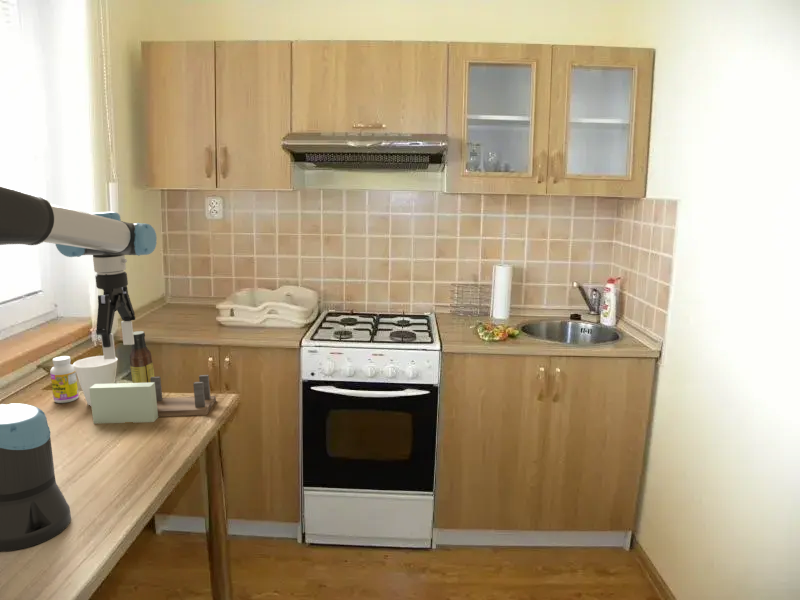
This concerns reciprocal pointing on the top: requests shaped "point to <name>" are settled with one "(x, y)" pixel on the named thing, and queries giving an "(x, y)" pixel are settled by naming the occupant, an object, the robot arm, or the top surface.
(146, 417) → the door panel
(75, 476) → the top surface
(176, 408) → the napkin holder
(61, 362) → the supplement bottle
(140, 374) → the sauce bottle
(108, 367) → the cup
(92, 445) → the top surface
